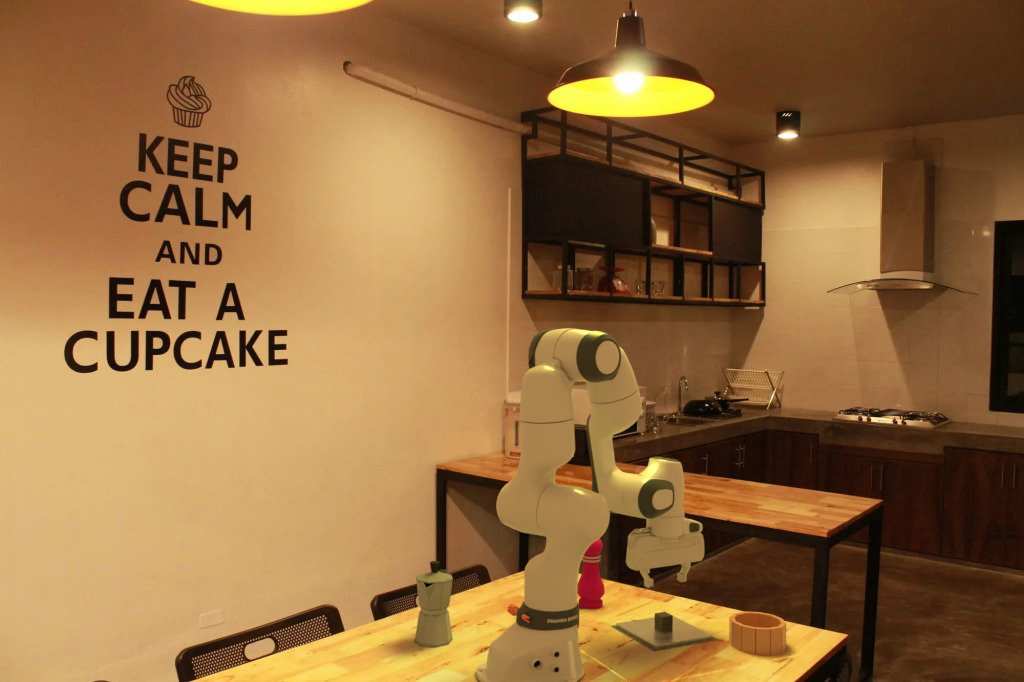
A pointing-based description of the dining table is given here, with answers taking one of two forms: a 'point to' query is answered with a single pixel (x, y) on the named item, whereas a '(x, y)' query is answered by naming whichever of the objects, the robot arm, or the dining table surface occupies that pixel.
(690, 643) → the rubber mat
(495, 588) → the dining table surface
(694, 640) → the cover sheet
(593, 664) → the dining table surface
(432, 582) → the coffee maker
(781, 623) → the bowl
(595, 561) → the pepper mill
